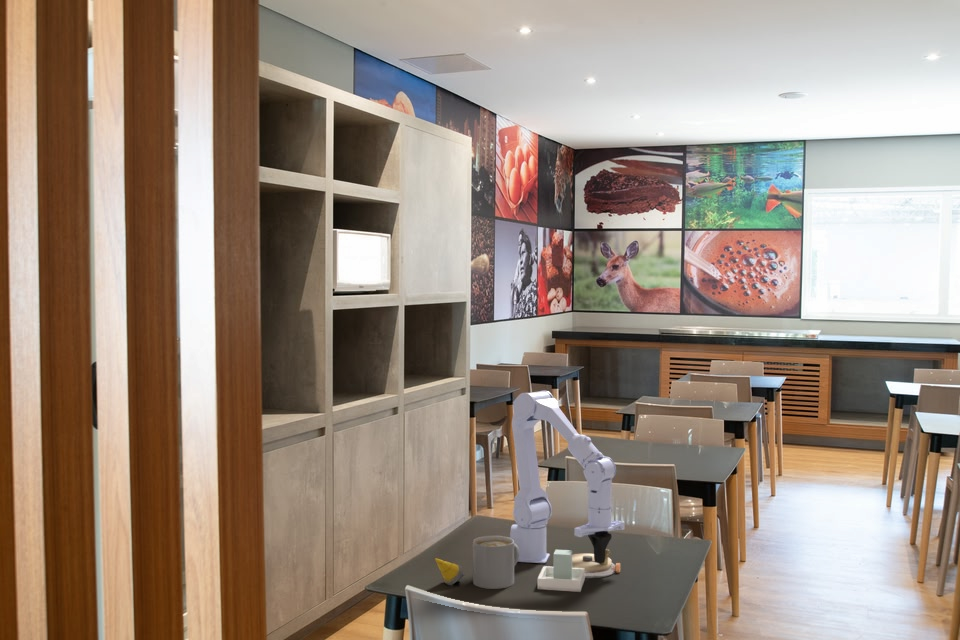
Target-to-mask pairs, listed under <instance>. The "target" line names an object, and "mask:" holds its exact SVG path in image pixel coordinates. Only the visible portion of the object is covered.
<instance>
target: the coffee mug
mask: <svg viewBox="0 0 960 640" xmlns="http://www.w3.org/2000/svg"><path fill="white" fill-rule="evenodd" d="M518 558H519V549H518V546H517V545H516V544H514V540H513V539H511V538H510V536H509V537H508V536H505V535H484V536H479V537H475V538H474V539H473V541H472V583H473V585H474V586H476V587H479V588H481V589H487V590H488V589H489V590H492V589H493V590H496V589H497V590H500V589H506V588H510V587H511V586H513V585H514V584H515V567H516V566H517V563H519V562H518Z"/></svg>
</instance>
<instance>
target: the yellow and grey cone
mask: <svg viewBox="0 0 960 640" xmlns="http://www.w3.org/2000/svg"><path fill="white" fill-rule="evenodd" d="M434 560H435V562H436V564H437V565H436V566H437V567H438V568H439V571H440V574H441V575H442V581H443V582H444V583H445V584H446V585H448V586H452V585H454V584H455V583H457V582H462V579H463V578H464V577H465V574H464V573H463V571H464V570H463V567H462V565H460V564H459V563H456V562H455V563H453V562H449V561H446V560H443V559H440V558H436V557H435V558H434Z"/></svg>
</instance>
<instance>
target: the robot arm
mask: <svg viewBox="0 0 960 640" xmlns="http://www.w3.org/2000/svg"><path fill="white" fill-rule="evenodd" d="M512 407H513V414H512V419H511V427H512V435H513V442H514V443H513V445H514V452H515V454H514V455H515V461H516V468H517V476H518V484H519V485H518V486H519V490H518V491H517V493H516V495H515V496H514V497H513V501H514V505H513V509H512V516H513V520H514V521H515V524H512V525H511V527H510V533H509V538H511V539H513V540H514V544H516V545H517V546H518V549H519V558H518V562H517V563H532V564H533V563H534V564H547V562H548V560H549V558H550V555H551V554H550V553H547V525H548V521H549V519H550V518H551V516H552V513H553V507H552V504H551V502H550V501H549V500H550V499H549V498H548V493H547V491H546V490H545V489H544V488H543V487H541V486H542V485H541V480H540V471H539V470H540V469H539V464H538V456H537V448H536V440H535V439H536V438H535V433H534V431H535V430H534V427H535V426H536V425H537V424H538V422H539V421H546V422H548V423H549V424H550V425H551V426H552V427H553V428H554V429H555V430H556V431H557V432H558V433H559V435H561V437H562V438H563V439H564V440H565V441H566V442H567V449H568V451H569V453H570V454H571V455H572V456H573V458H574V459H575V460H576V461H577V462H578V463H579V465H580V466H581V467H582V468H583V471H582V472H583V475H584V478H585V480H586V482H587V486H586V487H587V488H588V489H587V490H588V491H587V493H588V494H587V496H588V497H587V499H588V500H587V501H588V504H587V505H588V506H587V508H588V512H587V513H588V514H587V517H588V519H587V520H588V521H587V523H586V524H583V525H580V526H578V527H574V528H573V530H574V534H573V535H574V537H578V538H582V537H584V536H587V537H588V539H589V540H590V542H591V545H592V547H593V554H594V560H595V562H598V563H604V562H605V550H606V549H607V547H608V545H609V543H610V541H611V540H612V533H609V532H613V531H619V530H621V531H623V530H625V525H626V524H625V523H626V522H625V521H622V520H613V518H612V506H613V505H612V500H613V499H612V496H613V495H612V494H613V493H612V489H613V488H612V486H613V485H612V484H613V479H614V477H615V476H616V474H617V466H616V463H615V462H614V460H613V459H612V458H611V457H609V456H605V455H604V454H603V453H602V452H601V451H599V449H598V448H597V447H596V446H595V445H594V443H593V442H592V439H591V437H590V436H587V435H586V434H579V433H578V431H577V430H576V429H575V427H574V425H572V423H571V422H570V420H569V419H568V418H567V417H566V415H565V413H564V412H563V411H562V410H561V408H560V407H559V402H558V400H557V399H556V398H555V397H554V396H553V394H552V393H551V392H550V391H548V390H540V391H534V392H521V393H519V394H518V395H517V397H516V398H515V399H514V400H513V401H512Z"/></svg>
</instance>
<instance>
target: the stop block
mask: <svg viewBox="0 0 960 640" xmlns="http://www.w3.org/2000/svg"><path fill="white" fill-rule="evenodd" d="M572 555H573V550H571V549H570V550H568V549H554V552H553V560H552V563H553V566H552V567H553V570H554V578H556V579H572Z"/></svg>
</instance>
